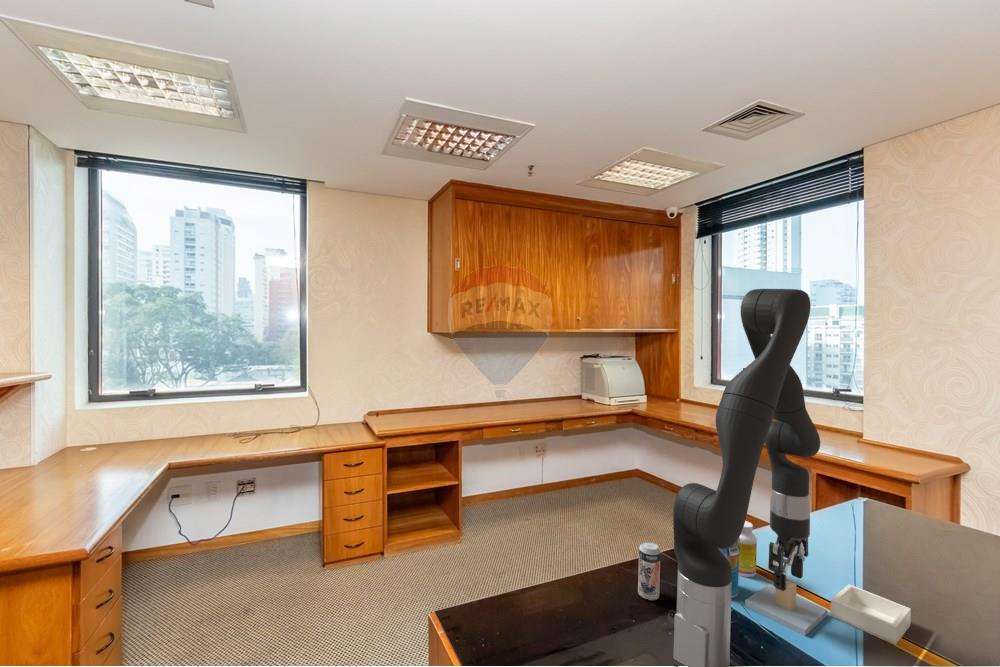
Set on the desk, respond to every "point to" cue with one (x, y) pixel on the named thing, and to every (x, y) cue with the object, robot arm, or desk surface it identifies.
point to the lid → (787, 608)
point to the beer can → (649, 571)
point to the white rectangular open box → (871, 613)
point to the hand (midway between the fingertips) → (788, 582)
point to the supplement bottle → (747, 551)
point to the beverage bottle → (733, 564)
